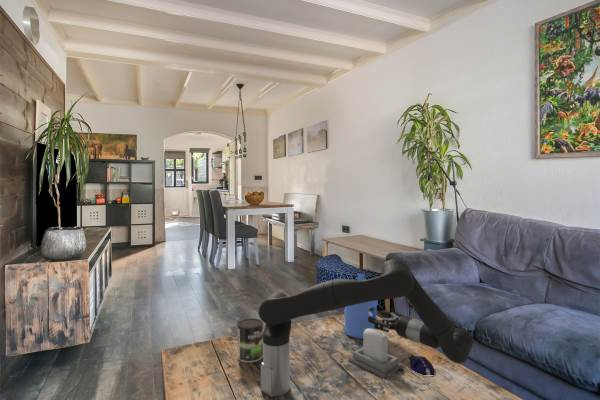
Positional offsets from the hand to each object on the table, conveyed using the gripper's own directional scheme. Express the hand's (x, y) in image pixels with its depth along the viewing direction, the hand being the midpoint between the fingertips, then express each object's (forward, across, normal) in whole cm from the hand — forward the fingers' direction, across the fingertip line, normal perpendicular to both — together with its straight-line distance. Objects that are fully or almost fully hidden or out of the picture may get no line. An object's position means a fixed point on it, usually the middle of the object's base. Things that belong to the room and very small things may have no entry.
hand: (375, 316), depth 139 cm
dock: (0, 0, +19) cm, 19 cm away
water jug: (+22, -19, +20) cm, 35 cm away
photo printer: (0, 0, +18) cm, 18 cm away
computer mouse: (-13, -11, +20) cm, 26 cm away
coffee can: (+38, +33, +20) cm, 54 cm away
